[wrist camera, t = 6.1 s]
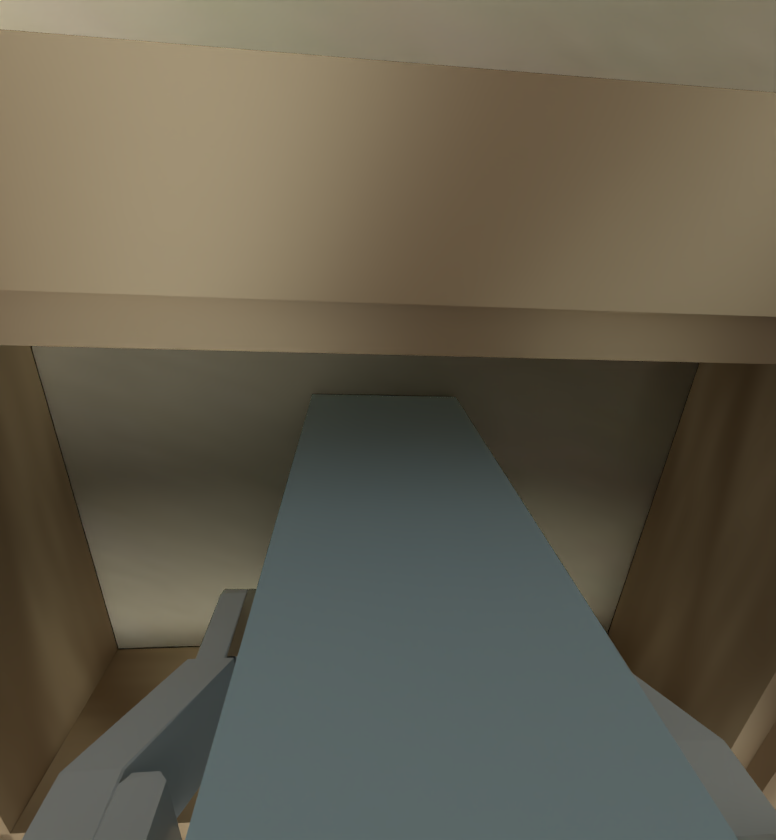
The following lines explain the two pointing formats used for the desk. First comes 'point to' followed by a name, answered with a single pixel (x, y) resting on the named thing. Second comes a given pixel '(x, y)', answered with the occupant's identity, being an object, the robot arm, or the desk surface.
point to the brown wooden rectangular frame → (385, 315)
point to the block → (430, 661)
